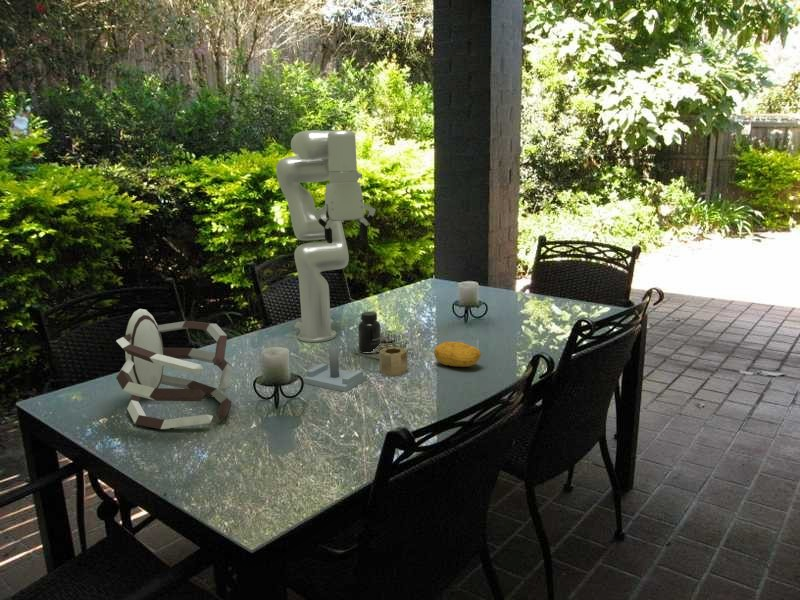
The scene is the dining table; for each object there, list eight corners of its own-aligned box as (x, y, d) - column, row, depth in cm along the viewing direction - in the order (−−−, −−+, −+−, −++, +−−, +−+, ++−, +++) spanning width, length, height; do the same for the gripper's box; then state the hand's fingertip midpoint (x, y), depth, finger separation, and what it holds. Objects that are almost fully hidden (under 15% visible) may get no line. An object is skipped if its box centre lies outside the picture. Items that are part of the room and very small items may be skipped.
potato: (443, 358, 195) (442, 336, 194) (484, 366, 188) (485, 343, 186) (429, 366, 189) (429, 343, 187) (472, 374, 182) (472, 351, 180)
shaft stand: (303, 383, 179) (301, 349, 176) (326, 371, 187) (324, 339, 185) (345, 392, 172) (343, 357, 169) (366, 379, 180) (365, 346, 177)
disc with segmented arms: (185, 376, 184) (264, 416, 163) (90, 408, 165) (165, 458, 143) (178, 293, 177) (259, 323, 156) (78, 317, 158) (155, 355, 136)
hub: (375, 373, 184) (375, 352, 183) (389, 365, 190) (388, 345, 189) (397, 377, 181) (397, 356, 179) (410, 369, 187) (410, 349, 185)
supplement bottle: (378, 354, 200) (377, 316, 197) (356, 354, 201) (354, 316, 198) (383, 347, 206) (382, 310, 203) (362, 347, 208) (360, 310, 205)
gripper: (369, 176, 183) (371, 237, 187) (308, 179, 177) (312, 242, 181) (378, 177, 177) (380, 240, 181) (315, 180, 170) (319, 245, 174)
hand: (346, 241), depth 181 cm, fingers open, 9 cm apart
